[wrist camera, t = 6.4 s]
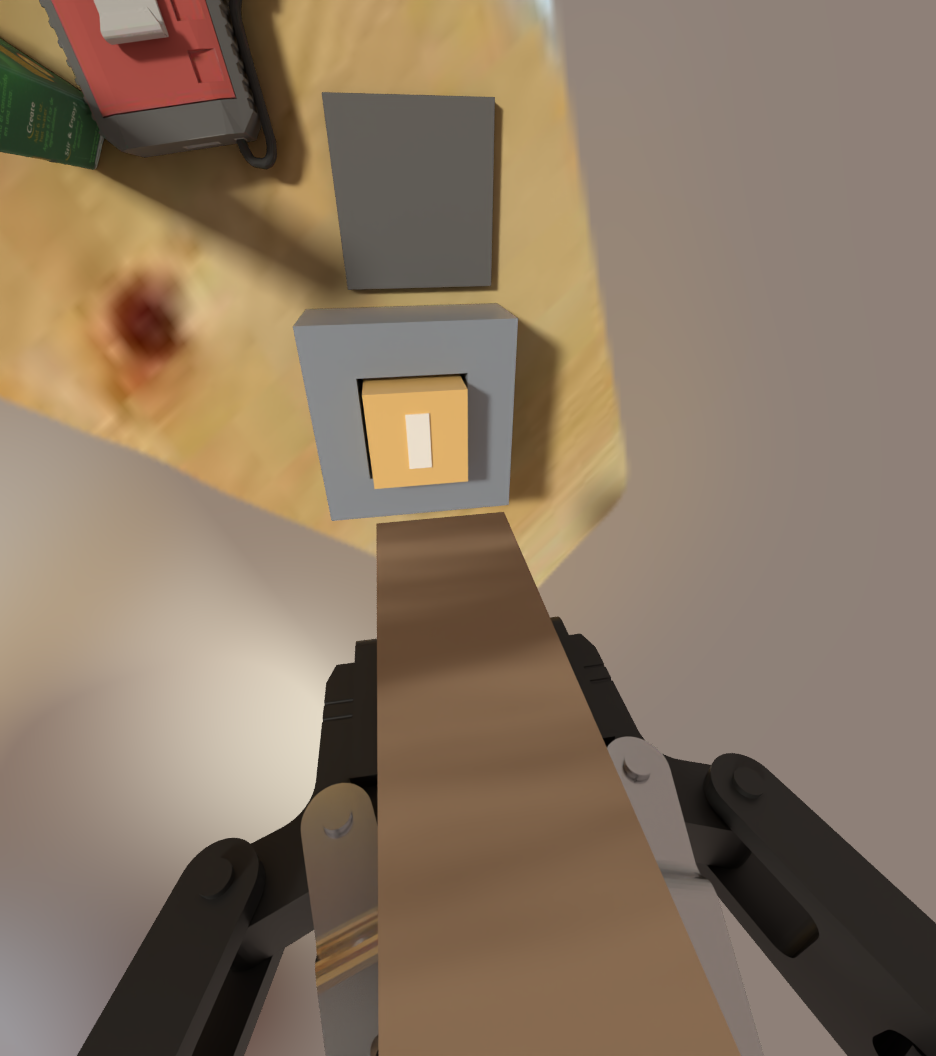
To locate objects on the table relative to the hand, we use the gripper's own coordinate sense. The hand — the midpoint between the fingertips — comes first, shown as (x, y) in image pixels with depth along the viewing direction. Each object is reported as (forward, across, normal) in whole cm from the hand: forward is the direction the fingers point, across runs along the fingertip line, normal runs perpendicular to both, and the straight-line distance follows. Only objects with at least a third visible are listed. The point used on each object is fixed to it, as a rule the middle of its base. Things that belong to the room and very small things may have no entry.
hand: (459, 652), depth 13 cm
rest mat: (+21, -1, -10) cm, 24 cm away
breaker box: (+21, 0, 0) cm, 21 cm away
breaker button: (+18, 0, 0) cm, 18 cm away
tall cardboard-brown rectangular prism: (+4, 0, 0) cm, 4 cm away
